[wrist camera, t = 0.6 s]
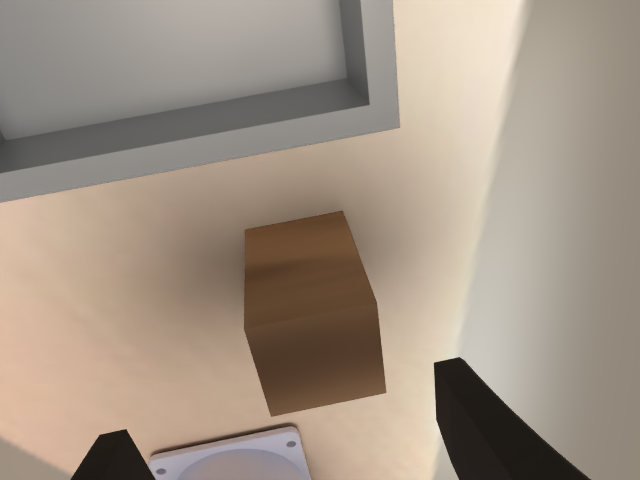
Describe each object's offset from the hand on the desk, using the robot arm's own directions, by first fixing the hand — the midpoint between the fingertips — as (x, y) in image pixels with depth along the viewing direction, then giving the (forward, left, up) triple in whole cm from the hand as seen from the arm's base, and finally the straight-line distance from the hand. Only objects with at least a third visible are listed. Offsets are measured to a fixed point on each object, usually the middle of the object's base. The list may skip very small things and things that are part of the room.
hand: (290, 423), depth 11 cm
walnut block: (-2, -1, -10) cm, 10 cm away
